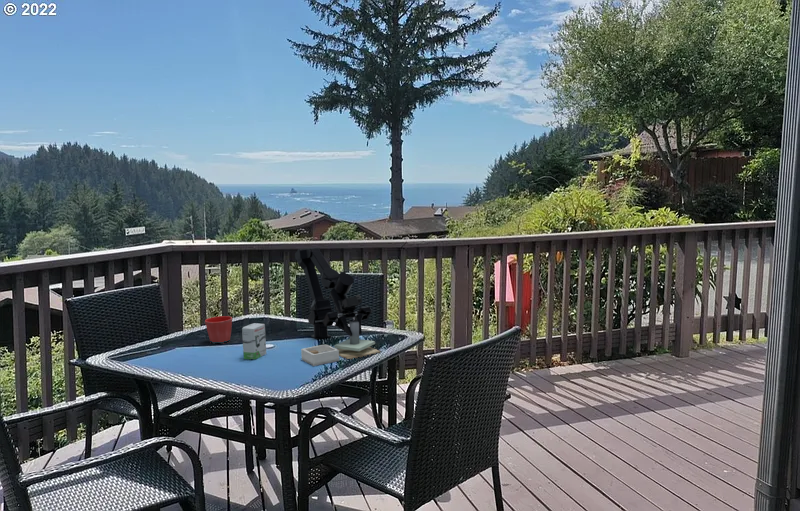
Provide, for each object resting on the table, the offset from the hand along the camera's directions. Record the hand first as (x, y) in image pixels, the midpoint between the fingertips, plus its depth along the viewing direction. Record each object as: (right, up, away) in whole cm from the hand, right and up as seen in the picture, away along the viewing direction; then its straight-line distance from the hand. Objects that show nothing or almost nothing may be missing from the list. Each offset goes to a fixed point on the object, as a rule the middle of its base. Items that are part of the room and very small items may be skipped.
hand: (356, 334), depth 219 cm
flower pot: (-58, -6, +23) cm, 62 cm away
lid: (-1, -4, +2) cm, 5 cm away
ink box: (-38, -8, 0) cm, 39 cm away
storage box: (-12, -8, -7) cm, 17 cm away
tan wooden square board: (-1, -7, +2) cm, 7 cm away
